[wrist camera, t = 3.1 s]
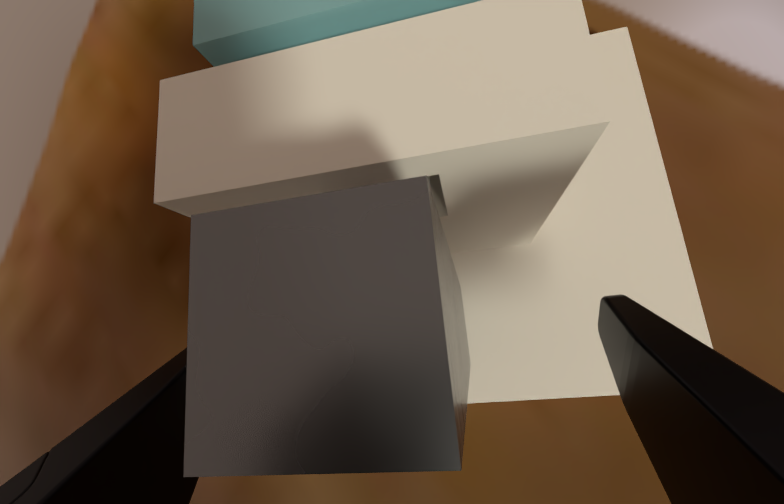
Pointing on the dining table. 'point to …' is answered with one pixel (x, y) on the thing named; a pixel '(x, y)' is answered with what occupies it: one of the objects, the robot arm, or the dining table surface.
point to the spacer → (292, 23)
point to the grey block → (325, 337)
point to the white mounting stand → (464, 170)
